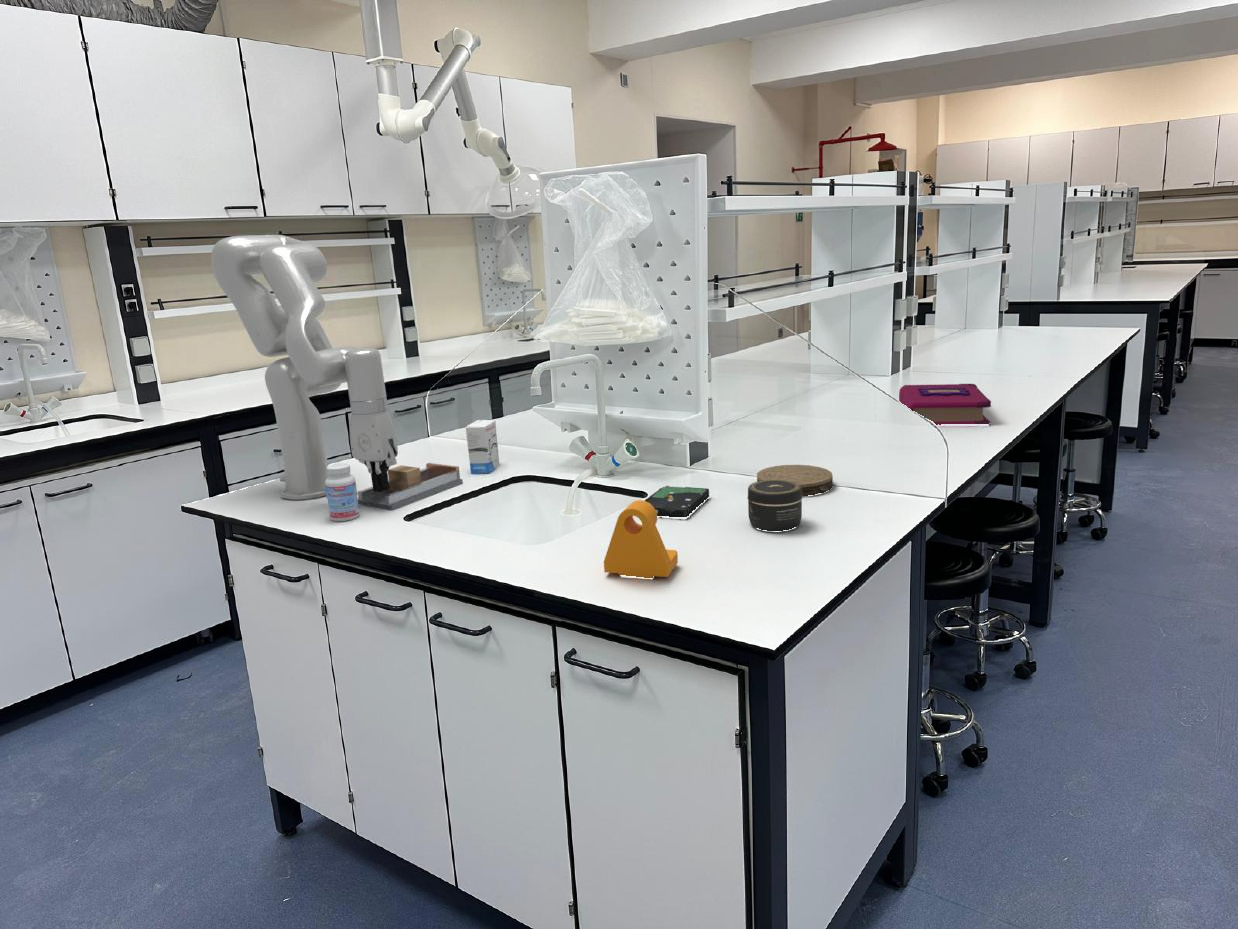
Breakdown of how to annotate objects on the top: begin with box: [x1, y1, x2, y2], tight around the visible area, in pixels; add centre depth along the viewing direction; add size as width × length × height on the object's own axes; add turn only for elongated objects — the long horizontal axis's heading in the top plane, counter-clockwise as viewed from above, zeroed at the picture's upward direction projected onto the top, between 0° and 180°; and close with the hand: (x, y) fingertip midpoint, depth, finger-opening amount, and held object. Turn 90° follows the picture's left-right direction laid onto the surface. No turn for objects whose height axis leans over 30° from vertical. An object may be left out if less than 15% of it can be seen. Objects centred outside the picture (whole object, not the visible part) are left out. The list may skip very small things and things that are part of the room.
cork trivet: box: [756, 464, 834, 496], centre depth 185 cm, size 16×16×3 cm
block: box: [387, 465, 421, 492], centre depth 194 cm, size 6×4×5 cm, turn 57°
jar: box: [747, 480, 803, 531], centre depth 161 cm, size 10×10×8 cm
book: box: [898, 383, 992, 425], centre depth 243 cm, size 21×28×8 cm
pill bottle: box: [325, 462, 360, 522], centre depth 180 cm, size 6×6×11 cm
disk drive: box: [644, 485, 710, 517], centre depth 176 cm, size 10×3×15 cm
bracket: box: [603, 499, 679, 578], centre depth 142 cm, size 11×7×12 cm, turn 71°
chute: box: [357, 462, 464, 511], centre depth 196 cm, size 11×22×4 cm, turn 147°
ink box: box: [465, 419, 501, 475], centre depth 213 cm, size 9×5×12 cm, turn 168°
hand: (381, 490), depth 188 cm, fingers closed
